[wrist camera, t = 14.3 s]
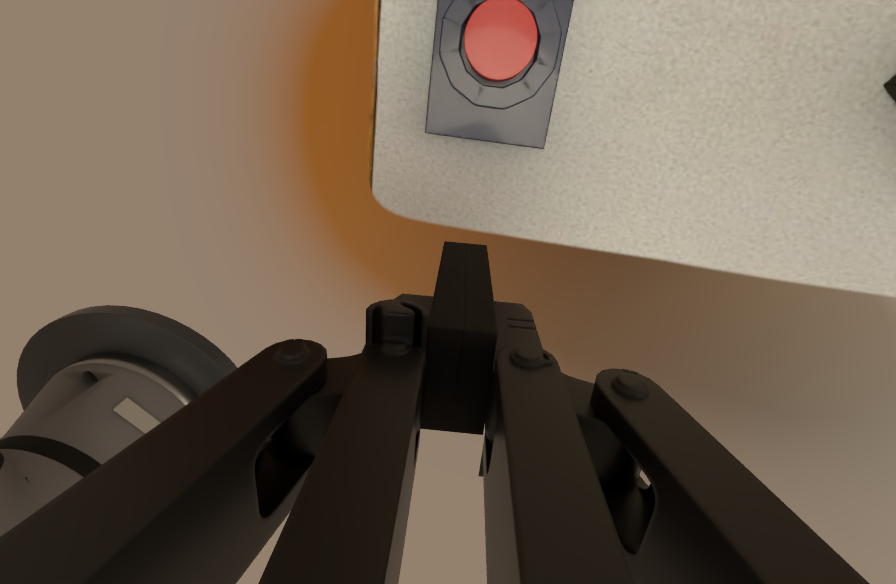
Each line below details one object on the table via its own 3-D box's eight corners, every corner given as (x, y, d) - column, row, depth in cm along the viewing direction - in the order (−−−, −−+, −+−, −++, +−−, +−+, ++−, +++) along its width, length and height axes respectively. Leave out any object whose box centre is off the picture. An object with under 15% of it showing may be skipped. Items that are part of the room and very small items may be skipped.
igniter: (539, 146, 30) (547, 151, 27) (428, 131, 31) (421, 134, 27) (576, -42, 26) (592, -67, 22) (447, -59, 26) (441, -86, 23)
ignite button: (526, 86, 26) (529, 84, 24) (460, 77, 26) (459, 75, 24) (540, 8, 24) (544, 0, 23) (470, -1, 24) (469, -9, 23)
